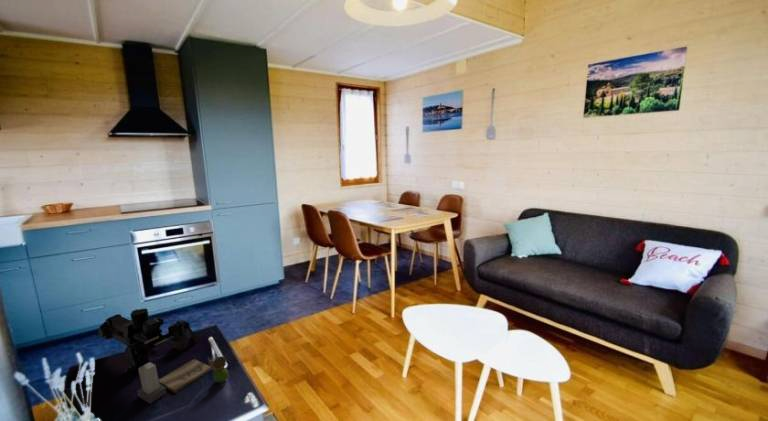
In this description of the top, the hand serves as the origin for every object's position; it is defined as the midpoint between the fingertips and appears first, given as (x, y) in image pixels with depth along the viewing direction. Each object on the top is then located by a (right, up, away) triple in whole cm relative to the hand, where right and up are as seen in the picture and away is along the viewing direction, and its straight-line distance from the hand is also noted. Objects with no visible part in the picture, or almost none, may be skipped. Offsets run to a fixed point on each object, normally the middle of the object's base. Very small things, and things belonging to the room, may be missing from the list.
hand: (168, 346), depth 131 cm
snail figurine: (+18, -15, +4) cm, 24 cm away
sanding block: (-5, -18, -2) cm, 18 cm away
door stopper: (-11, -11, +30) cm, 34 cm away
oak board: (+2, -15, +8) cm, 17 cm away
